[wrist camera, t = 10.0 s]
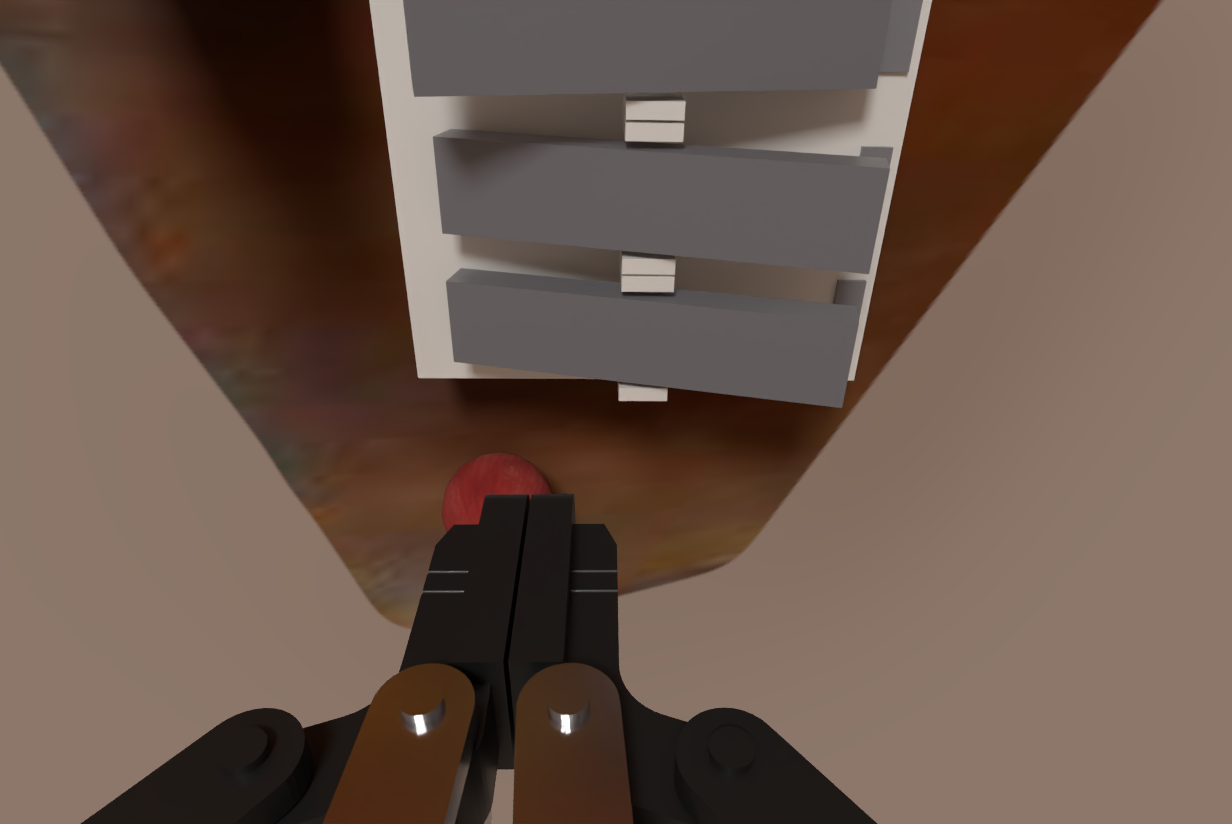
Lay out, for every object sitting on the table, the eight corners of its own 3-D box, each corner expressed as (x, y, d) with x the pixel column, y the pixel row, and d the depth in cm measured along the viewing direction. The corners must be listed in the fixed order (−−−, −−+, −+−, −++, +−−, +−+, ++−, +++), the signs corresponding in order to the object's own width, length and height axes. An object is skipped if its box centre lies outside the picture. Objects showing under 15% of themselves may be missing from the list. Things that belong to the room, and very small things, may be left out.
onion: (576, 457, 43) (572, 551, 36) (523, 523, 45) (510, 624, 38) (486, 407, 41) (465, 497, 34) (436, 479, 43) (406, 576, 36)
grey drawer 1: (398, -40, 23) (399, -40, 21) (871, -29, 26) (897, -29, 25) (412, 89, 24) (414, 96, 23) (852, 82, 28) (875, 88, 27)
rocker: (450, 128, 29) (432, 136, 27) (886, 158, 26) (890, 168, 24) (458, 222, 31) (442, 233, 29) (866, 259, 28) (868, 274, 26)
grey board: (461, 268, 31) (445, 281, 30) (856, 306, 29) (859, 322, 27) (468, 345, 33) (453, 362, 32) (840, 388, 31) (842, 408, 29)
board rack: (390, -91, 29) (324, -110, 22) (898, -79, 30) (995, -92, 23) (437, 331, 38) (401, 416, 31) (825, 334, 39) (877, 418, 32)
